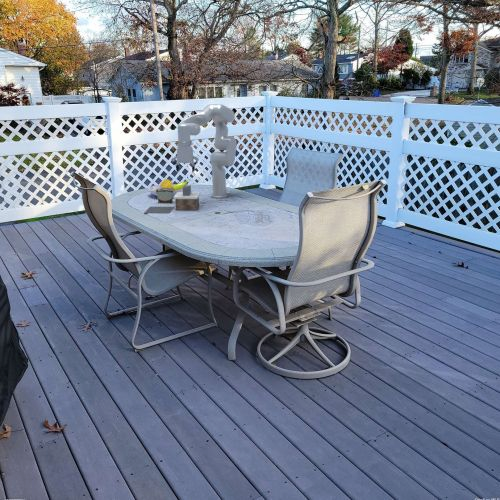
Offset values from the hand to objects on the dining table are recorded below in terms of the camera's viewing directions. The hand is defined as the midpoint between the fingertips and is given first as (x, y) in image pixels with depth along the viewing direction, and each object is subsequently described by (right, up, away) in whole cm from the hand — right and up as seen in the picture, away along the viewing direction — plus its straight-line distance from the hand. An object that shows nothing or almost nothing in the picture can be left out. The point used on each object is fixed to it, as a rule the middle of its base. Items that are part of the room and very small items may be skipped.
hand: (185, 171), depth 306 cm
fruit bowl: (-18, -10, +43) cm, 48 cm away
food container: (-16, -18, +22) cm, 33 cm away
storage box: (0, -22, +8) cm, 24 cm away
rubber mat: (-17, -25, +3) cm, 30 cm away
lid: (0, -15, +6) cm, 16 cm away
